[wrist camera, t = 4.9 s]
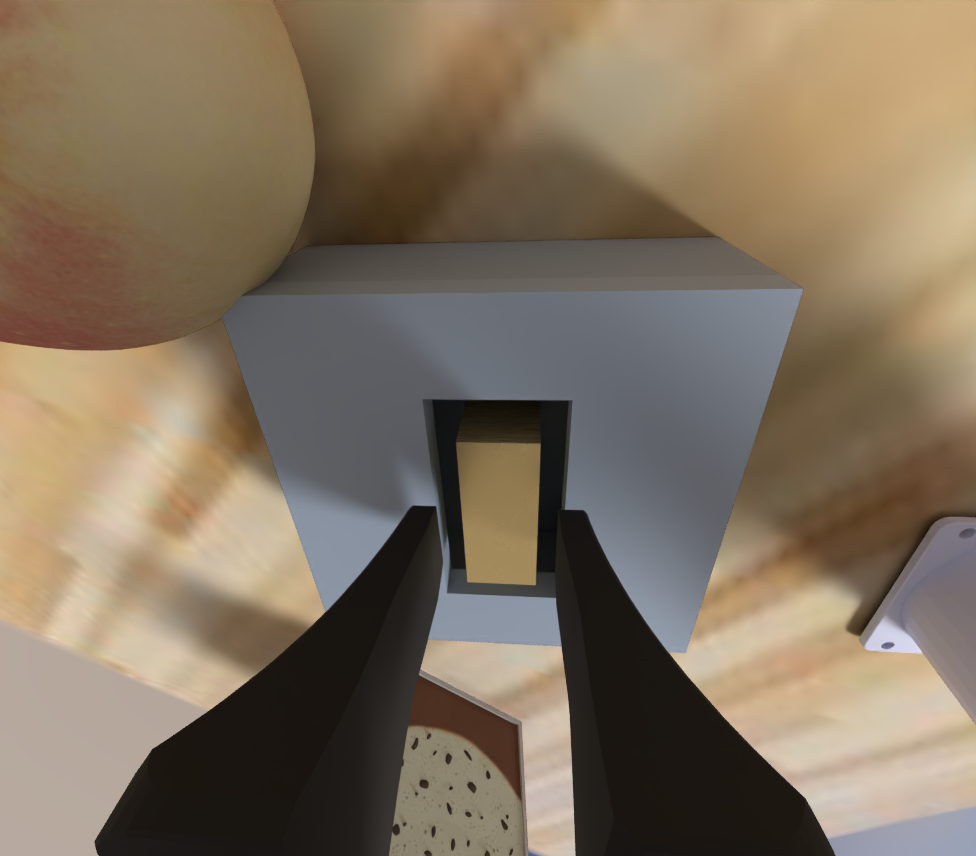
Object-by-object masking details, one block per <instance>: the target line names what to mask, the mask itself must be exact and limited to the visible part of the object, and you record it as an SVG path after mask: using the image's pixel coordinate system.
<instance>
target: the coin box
mask: <svg viewBox="0 0 976 856" xmlns="http://www.w3.org/2000/svg"><path fill="white" fill-rule="evenodd" d="M803 290H804V289H803V288H802V287H800V286H798V285H797V284H795V283H793V282H792V281H790V280H788V279H787V278H785V277H784V276H782V275H780V274H779V273H777V272H775V271H774V270H772V269H770V268H769V267H767V266H765V265H764V264H762V263H761V262H759V261H757V260H756V259H754V258H752V257H751V256H749V255H747V254H746V253H744V252H742V251H741V250H739V249H738V248H736V247H734V246H733V245H731V244H729V243H728V242H726V241H724V240H723V239H721V238H719V237H684V238H638V239H592V240H546V241H500V242H454V243H407V244H361V245H315V246H306V247H304V248H302V249H300V250H299V251H297V252H295V253H293V254H291V255H289V256H287V257H286V258H285V260H284V261H283V263H282V264H281V265H280V267H279V268H278V269H277V271H276V272H275V273H274V274H273V275H272V276H271V277H270V278H269V279H268V280H267V281H266V282H265V283H263V284H262V285H260V286H259V287H257V288H255V289H254V290H252V291H250V292H248V293H246V294H244V295H242V296H241V297H240V298H239V299H238V301H237V302H236V303H235V304H234V305H233V306H232V307H231V308H230V309H229V310H228V311H227V312H226V313H225V314H224V315H223V316H222V319H223V322H224V325H225V328H226V331H227V334H228V336H229V339H230V342H231V345H232V348H233V351H234V353H235V356H236V359H237V362H238V365H239V368H240V370H241V373H242V376H243V379H244V382H245V385H246V388H247V390H248V393H249V396H250V399H251V402H252V405H253V407H254V410H255V413H256V416H257V419H258V422H259V424H260V427H261V430H262V433H263V436H264V439H265V442H266V444H267V447H268V450H269V453H270V456H271V459H272V461H273V464H274V467H275V470H276V473H277V476H278V479H279V481H280V484H281V487H282V490H283V493H284V496H285V498H286V501H287V504H288V507H289V510H290V513H291V515H292V518H293V521H294V524H295V527H296V530H297V533H298V535H299V538H300V541H301V544H302V547H303V550H304V552H305V555H306V558H307V561H308V564H309V567H310V570H311V572H312V575H313V578H314V581H315V584H316V587H317V589H318V592H319V595H320V598H321V601H322V604H323V606H324V609H325V612H326V611H327V610H328V609H329V608H330V607H331V606H332V605H333V604H334V603H335V602H336V601H337V600H338V598H339V597H340V596H341V595H342V594H343V593H344V592H345V591H346V589H347V588H348V587H349V586H350V585H351V584H352V583H353V581H354V580H355V579H356V578H357V577H358V576H359V575H360V574H361V572H362V571H363V570H364V569H365V567H366V566H367V565H368V564H369V562H370V561H371V560H372V559H373V557H374V556H375V555H376V554H377V552H378V551H379V550H380V549H381V547H382V546H383V545H384V543H385V542H386V541H387V539H388V538H389V537H390V535H391V534H392V533H393V531H394V530H395V528H396V527H397V526H398V524H399V523H400V521H401V520H402V518H403V517H404V515H405V514H406V513H407V511H408V510H409V508H410V507H412V506H413V505H415V506H436V508H437V516H438V524H439V532H440V539H441V547H442V555H443V568H442V576H441V583H440V590H439V596H438V602H437V606H436V610H435V614H434V618H433V622H432V626H431V630H430V633H429V637H428V640H447V641H467V642H486V643H505V644H524V645H543V646H561V638H560V631H559V623H558V615H557V607H556V582H555V558H556V542H557V525H558V509H562V510H584V511H585V512H586V513H587V514H588V517H589V520H590V523H591V525H592V528H593V530H594V532H595V534H596V537H597V539H598V541H599V543H600V545H601V547H602V549H603V551H604V553H605V555H606V557H607V559H608V561H609V563H610V564H611V566H612V568H613V570H614V571H615V573H616V575H617V577H618V578H619V580H620V582H621V584H622V585H623V587H624V589H625V590H626V592H627V594H628V595H629V597H630V598H631V600H632V602H633V603H634V605H635V606H636V608H637V609H638V611H639V612H640V614H641V615H642V617H643V618H644V620H645V621H646V623H647V624H648V626H649V627H650V628H651V630H652V631H653V633H654V634H655V635H656V637H657V638H658V639H659V641H660V642H661V643H662V645H663V646H664V647H665V649H666V650H667V651H668V652H678V653H686V650H687V647H688V644H689V641H690V638H691V635H692V632H693V628H694V625H695V622H696V619H697V616H698V613H699V610H700V607H701V604H702V601H703V598H704V595H705V592H706V588H707V585H708V582H709V579H710V576H711V573H712V570H713V567H714V564H715V561H716V558H717V555H718V551H719V548H720V545H721V542H722V539H723V536H724V533H725V530H726V527H727V524H728V521H729V518H730V514H731V511H732V508H733V505H734V502H735V499H736V496H737V493H738V490H739V487H740V484H741V481H742V478H743V474H744V471H745V468H746V465H747V462H748V459H749V456H750V453H751V450H752V447H753V444H754V441H755V437H756V434H757V431H758V428H759V425H760V422H761V419H762V416H763V413H764V410H765V407H766V404H767V401H768V397H769V394H770V391H771V388H772V385H773V382H774V379H775V376H776V373H777V370H778V367H779V364H780V360H781V357H782V354H783V351H784V348H785V345H786V342H787V339H788V336H789V333H790V330H791V327H792V323H793V320H794V317H795V314H796V311H797V308H798V305H799V302H800V299H801V296H802V293H803ZM466 400H540V436H541V450H540V477H539V505H538V533H537V561H536V585H520V584H497V583H475V582H467V571H466V558H465V546H464V534H463V522H462V509H461V497H460V485H459V473H458V460H457V448H456V440H457V436H458V432H459V428H460V424H461V419H462V415H463V411H464V407H465V403H466Z"/></svg>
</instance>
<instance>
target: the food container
mask: <svg viewBox="0 0 976 856" xmlns="http://www.w3.org/2000/svg"><path fill="white" fill-rule="evenodd" d="M389 856H528V838H527V819H526V800H525V781H524V762H523V742H522V723H521V722H520V721H519V720H517V719H515V718H513V717H511V716H509V715H507V714H505V713H503V712H501V711H499V710H497V709H495V708H493V707H492V706H490V705H488V704H486V703H484V702H482V701H480V700H478V699H476V698H474V697H472V696H470V695H468V694H466V693H464V692H463V691H461V690H459V689H457V688H455V687H453V686H451V685H449V684H447V683H445V682H443V681H441V680H439V679H437V678H435V677H434V676H432V675H430V674H428V673H426V672H424V671H422V670H420V672H419V676H418V680H417V683H416V688H415V692H414V697H413V701H412V706H411V712H410V718H409V724H408V730H407V737H406V743H405V749H404V755H403V762H402V768H401V775H400V781H399V788H398V794H397V802H396V809H395V816H394V823H393V830H392V837H391V844H390V852H389Z"/></svg>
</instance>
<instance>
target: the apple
mask: <svg viewBox="0 0 976 856" xmlns="http://www.w3.org/2000/svg"><path fill="white" fill-rule="evenodd" d="M314 166H315V138H314V130H313V121H312V114H311V109H310V103H309V98H308V94H307V91H306V87H305V83H304V79H303V75H302V72H301V69H300V66H299V63H298V59H297V57H296V54H295V51H294V49H293V46H292V43H291V40H290V38H289V35H288V33H287V30H286V28H285V26H284V23H283V21H282V19H281V17H280V15H279V13H278V11H277V9H276V7H275V5H274V3H273V1H272V0H0V341H2V342H7V343H13V344H20V345H28V346H36V347H45V348H56V349H66V350H122V349H130V348H138V347H143V346H149V345H154V344H159V343H163V342H167V341H171V340H175V339H178V338H180V337H183V336H186V335H188V334H190V333H193V332H195V331H197V330H199V329H201V328H204V327H206V326H208V325H211V324H213V323H214V322H216V321H218V320H220V319H222V316H223V315H224V314H225V313H226V312H227V311H228V310H229V309H230V308H231V307H232V306H233V305H234V304H235V303H236V302H237V301H238V299H239V298H240V297H241V296H242V295H244V294H246V293H248V292H250V291H252V290H254V289H255V288H257V287H259V286H260V285H262V284H263V283H265V282H266V281H267V280H268V279H269V278H270V277H271V276H272V275H273V274H274V273H275V272H276V271H277V269H278V268H279V267H280V265H281V264H282V263H283V261H284V260H285V258H286V256H287V255H288V253H289V251H290V249H291V247H292V245H293V244H294V242H295V240H296V238H297V235H298V233H299V230H300V228H301V225H302V222H303V219H304V216H305V213H306V209H307V206H308V203H309V199H310V194H311V188H312V183H313V177H314Z"/></svg>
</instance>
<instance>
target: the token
mask: <svg viewBox="0 0 976 856" xmlns="http://www.w3.org/2000/svg"><path fill="white" fill-rule="evenodd" d="M456 448H457V460H458V473H459V485H460V497H461V509H462V522H463V534H464V546H465V558H466V571H467V582H475V583H497V584H520V585H536V561H537V533H538V505H539V477H540V450H541V436H540V400H466V403H465V407H464V411H463V415H462V419H461V424H460V428H459V432H458V436H457V440H456Z"/></svg>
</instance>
